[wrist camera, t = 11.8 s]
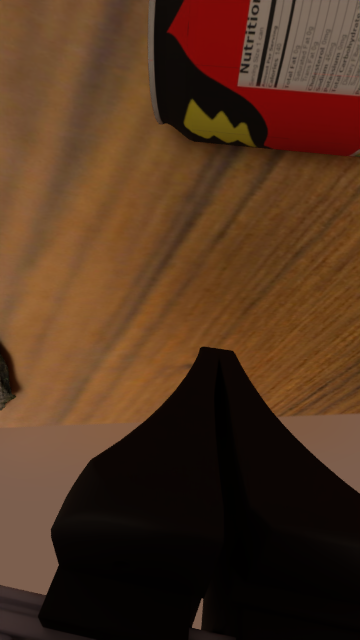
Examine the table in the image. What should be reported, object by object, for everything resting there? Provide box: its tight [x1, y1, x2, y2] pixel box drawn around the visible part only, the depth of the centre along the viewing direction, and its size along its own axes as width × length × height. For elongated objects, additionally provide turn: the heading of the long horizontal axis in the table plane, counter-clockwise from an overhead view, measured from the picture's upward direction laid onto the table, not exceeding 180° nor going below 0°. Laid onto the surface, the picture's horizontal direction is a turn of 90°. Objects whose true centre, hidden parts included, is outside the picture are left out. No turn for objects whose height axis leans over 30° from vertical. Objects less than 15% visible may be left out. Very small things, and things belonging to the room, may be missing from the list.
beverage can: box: [148, 0, 360, 157], centre depth 12 cm, size 6×6×12 cm
